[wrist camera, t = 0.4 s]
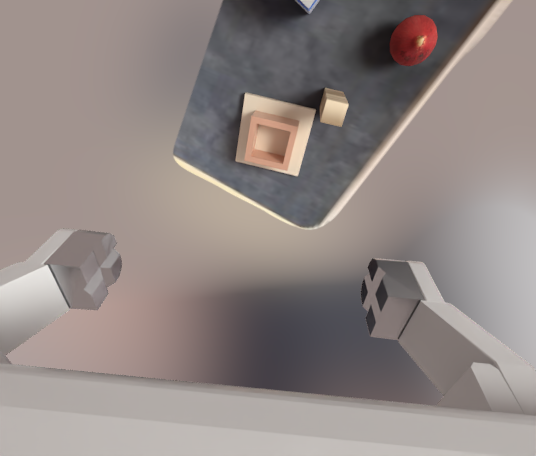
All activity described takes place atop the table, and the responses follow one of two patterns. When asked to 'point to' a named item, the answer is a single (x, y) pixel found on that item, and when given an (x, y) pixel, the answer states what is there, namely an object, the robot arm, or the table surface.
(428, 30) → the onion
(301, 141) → the stepped square socket
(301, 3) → the medicine box
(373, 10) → the table surface
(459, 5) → the table surface
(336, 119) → the tall tan block
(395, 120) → the table surface
